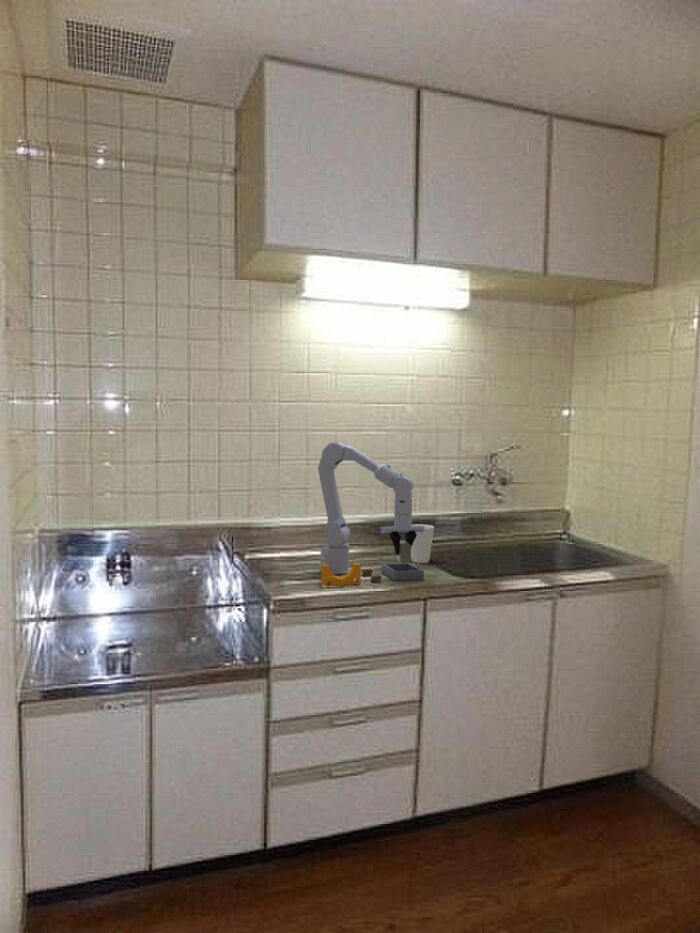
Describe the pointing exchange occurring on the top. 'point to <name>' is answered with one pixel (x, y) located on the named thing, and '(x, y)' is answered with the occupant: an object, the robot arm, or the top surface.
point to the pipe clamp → (333, 580)
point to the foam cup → (422, 544)
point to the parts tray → (402, 571)
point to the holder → (369, 573)
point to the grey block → (404, 552)
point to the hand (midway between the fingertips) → (402, 554)
